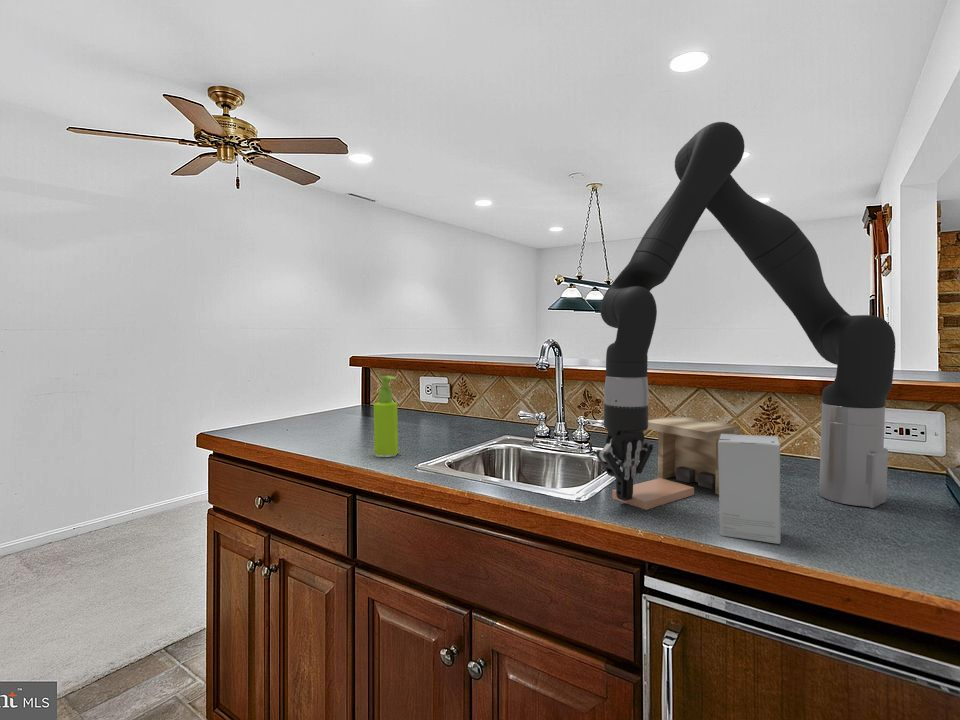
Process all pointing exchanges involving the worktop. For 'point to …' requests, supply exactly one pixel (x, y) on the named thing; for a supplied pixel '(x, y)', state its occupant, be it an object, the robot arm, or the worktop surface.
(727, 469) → the skincare box
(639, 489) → the tile
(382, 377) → the soap dispenser
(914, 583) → the worktop surface
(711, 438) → the shelf
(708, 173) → the robot arm
